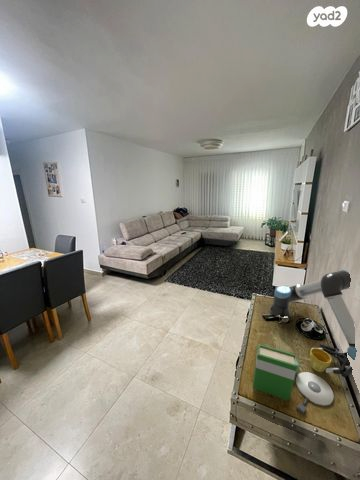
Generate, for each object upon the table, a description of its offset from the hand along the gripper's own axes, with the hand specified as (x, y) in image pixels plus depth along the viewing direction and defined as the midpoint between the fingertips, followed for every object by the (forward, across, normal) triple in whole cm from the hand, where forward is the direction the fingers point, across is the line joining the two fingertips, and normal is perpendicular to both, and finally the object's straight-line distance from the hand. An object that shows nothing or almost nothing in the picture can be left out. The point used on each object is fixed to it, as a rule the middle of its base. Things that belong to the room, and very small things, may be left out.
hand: (318, 359), depth 118 cm
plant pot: (0, 0, -6) cm, 6 cm away
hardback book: (+33, -12, -6) cm, 36 cm away
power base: (+14, -16, -6) cm, 21 cm away
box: (+21, -1, -6) cm, 22 cm away
